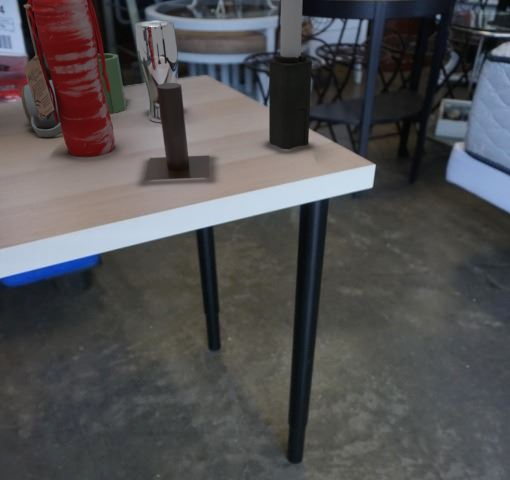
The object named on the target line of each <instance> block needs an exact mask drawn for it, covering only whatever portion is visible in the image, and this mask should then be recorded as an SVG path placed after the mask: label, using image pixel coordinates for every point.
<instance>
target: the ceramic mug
mask: <svg viewBox="0 0 510 480" xmlns="http://www.w3.org/2000/svg"><path fill="white" fill-rule="evenodd" d="M48 80H49V82H50V84H51V87H52V90H53V93H54V95H55V91H54V87H53V83H52V79H48ZM50 92H51V91H50ZM20 96H21V97H20V98H21V104H22V108H23V111H24V115H25V117H26V119H27V121H28V123H29V124H30V125H31V127H32V128H33V131H34V132H35V134H36V135H38V136H39V137H42V138H54V137H57V136H59V135H61V134H63V133H62V129H61V124H60V119H59V113H58V108H57V102H56V97H55V102H56V111H57V117H58V122H56V121H55V118H54V114H53V113H52V114H51V116H50V118H49V120H47V117H45V118H43V119H42V120H41V121H40V119H39V116H38V113H37V109H36V106H35V103H34V100H33V97H32V94H31V91H30V87H29V84H28V83H27V84H25V85H23V86H22V88H21V93H20ZM51 96H52V94H51ZM52 100H53V97H52Z"/></svg>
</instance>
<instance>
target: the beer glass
mask: <svg viewBox="0 0 510 480" xmlns="http://www.w3.org/2000/svg"><path fill="white" fill-rule="evenodd" d="M174 24H175V23H174V22H173V21H172V20H159V19H158V20H145V21H139V22H136V23H135V24H134V26H135V38H136V48H137V49H136V50H137V56H138V62H139V66H140V71H141V73H142V77H143V80H144V84H145V87H146V89H147V94H148V100H149V101H148V102H149V120H150V121H151V122H154V123H161V115H160V108H159V100H158V92H157V86H158V85H160V84H164V83H178V82H179V81H178V80H179V51H178V44H177V43H178V42H177V36H176V31H175V26H174ZM178 84H179V83H178Z"/></svg>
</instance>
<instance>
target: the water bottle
mask: <svg viewBox="0 0 510 480" xmlns="http://www.w3.org/2000/svg"><path fill="white" fill-rule="evenodd" d="M23 8H25V14H26V20H27V24H28V29H29V33H30V38H31V42H32V46H33V50H34V54H35V55H34V56H33V57H32V58H31V59H30V60H29V61H28V62H27V63H26V64H25V65H24V66H23V72H24V75H25V78H26V81H27V84H29V87H30V91H31V94H32V97H33V100H34V103H35V106H36V109H37V113H38V116H39V119H40V121H41V120H42V119H43V118H45V117H47V120H49V118H50V116H51V114H52V113H53V114H54V118H55V121H56V122H58V117H57V111H56V102H57V108H58V113H59V119H60V124H61V129H62V133H61V134H62V136H63V141H64V144H65V146H66V148H67V150H68V151H69V153H70V154H71V155H72V156H76V157H82V158H83V157H85V158H90V157H91V158H92V157H98V156H102V155H105V154H108V153H110V152H112V151H113V149H114V148H115V144H116V140H115V133H114V127H113V122H112V118H111V113H109V110H108V106H107V102H106V98H105V94H104V90H103V85H102V80H101V74H100V69H99V60H98V54H100V58H101V63H102V69H103V72H102V75H103V77H104V79H105V83H106V88H107V92H111V91H110V83H109V79H108V76H107V74H106V72H105V68H106V62H105V57H104V53H105V52H104V46H103V45H104V44H103V39H102V34H101V31H100V27H99V22H98V18H97V14H96V10H95V7H94V4H93V2H92V0H27V3H25V4H23ZM36 30H37V31H36ZM43 56H44V58H45V61H46V64H47V67H48V71H49V75H50V79H49V78H48V75H47V71H46V68H45V64H44V61H43ZM49 80H52V83H53V87H54V91H55V95H54V93H53V90H52V87H51V84H50V82H49ZM50 91H51V92H50ZM51 94H52V96H51ZM52 97H53V100H52ZM55 97H56V102H55Z"/></svg>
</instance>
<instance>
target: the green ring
mask: <svg viewBox="0 0 510 480" xmlns="http://www.w3.org/2000/svg"><path fill="white" fill-rule="evenodd" d="M104 57H105V62H106V68H105V72H106V74H107V76H108V79H109V83H110V91H111V92H107V88H106V83H105V79H104V77H103V75H102V72H103V69H102V63H101V58H100V53H98V60H99V69H100V74H101V80H102V85H103V90H104V94H105V98H106V102H107V106H108V110H109V113H110V114H115V113H119V112H123V111H125V110H126V109H127V101H126V96H125V88H124V84H123V83H124V82H123V78H122V77H123V76H122V70H121V64H120V59H119V55H118V54H116V53H105V52H104Z"/></svg>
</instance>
